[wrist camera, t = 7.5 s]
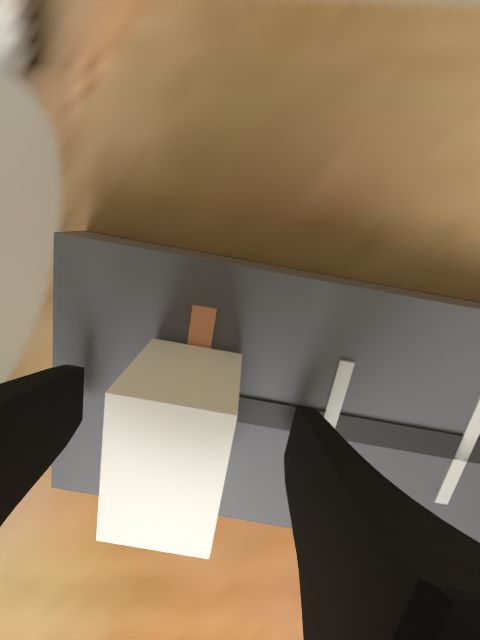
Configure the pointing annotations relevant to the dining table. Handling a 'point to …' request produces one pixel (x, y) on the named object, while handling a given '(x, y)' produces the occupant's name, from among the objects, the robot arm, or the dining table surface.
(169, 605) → the dining table surface
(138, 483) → the slider knob
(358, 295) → the slider panel
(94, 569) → the dining table surface
